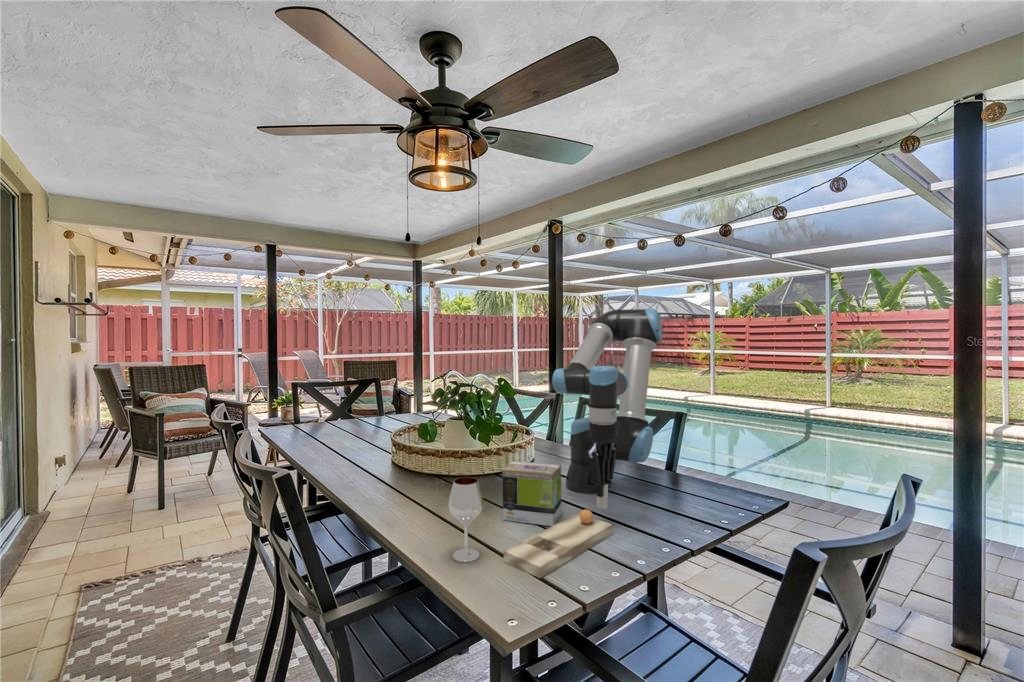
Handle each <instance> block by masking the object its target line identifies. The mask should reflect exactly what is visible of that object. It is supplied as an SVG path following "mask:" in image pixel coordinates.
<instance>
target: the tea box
mask: <svg viewBox="0 0 1024 682" xmlns="http://www.w3.org/2000/svg"><path fill="white" fill-rule="evenodd" d="M501 475H502V476H501V477H502V478H501V479H502V482H501V483H502V486H501V487H502V488H501V489H502V520H503V521H509V522H517V523H524V524H533V525H541V526H548V527H551V526H553V525H555V524H557V523H558V522H557V521H558V519H559V518H560V517H561V514H562V465H561V464H556V463H544V462H543V463H541V462H534V461H533V462H531V461H519V460H517V461H516V460H513V461H511V462H510V463H509V464H508V465H507V466H505V467H504V468H503V469H502V473H501Z"/></svg>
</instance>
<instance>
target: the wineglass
mask: <svg viewBox="0 0 1024 682" xmlns="http://www.w3.org/2000/svg"><path fill="white" fill-rule="evenodd" d="M480 486H481V485H480V483H479V479H477V478H475V477H471V476H464V477H463V476H462V477H458V478H456V479H454V480H453V483H452V487H451V490H450V494H449V498H448V499H449V500H448V511H449V512H450V513H451V515H452V516H453V517H454V518H455V519H457V521H459V522H460V523H461V524H462V525H463V527H464V531H463V532H464V538H463V539H464V542H463V543H464V544H463V545H464V548H461V549H458V550H455V551H454V552H453V553H452V559H454V561H455V562H460V563H470V562H473V561H476V560H477V559H479V558H480V552H479V551H478V550H476V549H475V548H469V541H468V539H469V537H468V533H469V532H468V531H469V528H468V527H469V525H470V523H471V522H473V520H475V519H476V518H477V517H478V516H479V515H480V514H481V512H482V510H483V507H484V498H483V493H482V490H481V487H480Z"/></svg>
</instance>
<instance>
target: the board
mask: <svg viewBox="0 0 1024 682" xmlns="http://www.w3.org/2000/svg"><path fill="white" fill-rule="evenodd" d="M612 534H613V524H612V523H609V522H606V521H602V520H600V519H597V518H594V517H593V520H592V521H591V522H590V523H588V524H585V523H583V522H582V521H581V520H580V513H575V514H573V515H572V516H569V517H568V518H565V519H563V520H561V521H560V522H556V523H555V525H553V526H548V528H545V529H543V530H542V531H540V532H537V533H536V534H534V535H532V536H530V537H528V538H526V539H524V540H521V541H520V542H518V543H517V544H514V545H513V546H510V547H508V548H506V549H505V550H503V562H504V563H506V564H508V565H510V566H512V567H515V568H517V569H519V570H521V571H523V572H525V573H527V574H529V575H531V576H534V577H537V578H538V579H542V578H543V577H545V576H547V575H549V574H550V573H551V572H553V571H555V570H556V569H557V568H560V567H562V566H563V565H565V564H566V563H567V562H569V561H570V560H572V559H575V558H576V557H578V556H579V555H581V554H582V553H584V552H585V551H587V550H588V549H591V548H592V547H593V546H596V544H598V543H600V542H601V541H602V540H605V539H607V538H608V537H609V536H611V535H612ZM546 550H547V551H546Z"/></svg>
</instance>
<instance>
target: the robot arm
mask: <svg viewBox="0 0 1024 682" xmlns="http://www.w3.org/2000/svg"><path fill="white" fill-rule="evenodd" d="M662 340H663V328H662V321H661V315H660V313H659V312H658V310H657V309H655V308H654V309H652V308H651V309H650V308H641V309H640V308H639V309H637V308H635V309H632V308H630V309H613V310H612V309H611V310H609V311H607V312H605V313H603V314H601V315H600V316H598V317H597V318H596V319H594V320H593V321H592V322H591V324H590V325H589V326H588V328H587V330H586V336H585V338H584V339H583V341H582V342H581V344H580V346H579V347H578V349H577V351H576V352H575V354H574V355H573V356H572V359H571V360H570V361H569V363H568V364H567V366H566V367H565V368H564V367H563V368H557V369H555V370H554V371H553V372H552V373H553V374H552V377H551V378H552V379H551V382H552V383H551V385H552V388H553V390H554V391H555V392H557V393H560V394H567V395H568V394H571V395H572V394H573V395H587V396H588V395H589V399H588V400H589V402H588V403H589V404H588V405H589V407H588V408H589V409H588V417H583V418H582V417H581V418H578V419H576V420H573V422H572V423H571V425H570V433H569V434H570V435H569V436H570V464H569V467H568V470H567V474H566V476H565V487H566V488H567V489H569V490H571V491H573V492H577V493H581V494H596V507H597V508H600V509H604V510H606V509H608V508H609V490H610V489H611V485H612V484H613V479H614V473H615V466H616V465H615V464H616V461H625V462H629V463H645V462H646V460H648V458H649V456H650V454H651V451H652V446H653V441H654V437H653V436H654V429H653V427H650V426H649V424H650V422H649V420H648V419H647V418H646V417H645V416H646V408H647V407H646V406H647V396H648V389H649V388H648V387H649V379H650V378H649V375H650V366H651V365H650V364H651V358H652V357H651V356H652V351H653V350H655V349H656V348H657V343H660V342H662ZM612 342H622V346H623V347H624V348H625V355H624V363H623V364H624V365H623V371H621V370H619V369H617V368H616V366H612V365H596V364H597V362H598V361H599V360H600V358H601V355H602V354H603V353H604V351H605V348H606V347H608V346H609V345H611V343H612ZM619 396H620V398H619V405H618V397H619ZM617 408H618V409H617Z"/></svg>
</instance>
